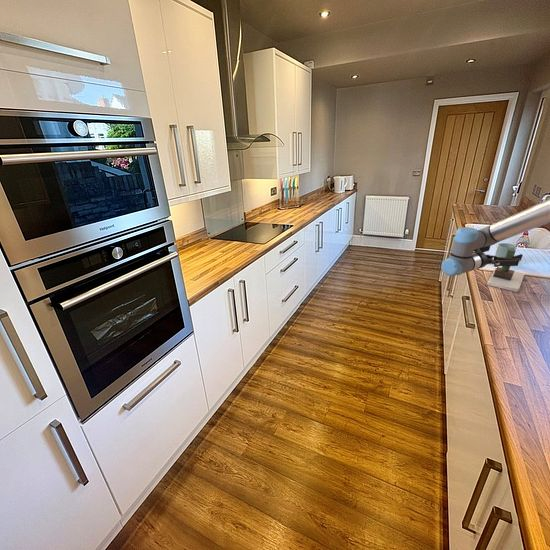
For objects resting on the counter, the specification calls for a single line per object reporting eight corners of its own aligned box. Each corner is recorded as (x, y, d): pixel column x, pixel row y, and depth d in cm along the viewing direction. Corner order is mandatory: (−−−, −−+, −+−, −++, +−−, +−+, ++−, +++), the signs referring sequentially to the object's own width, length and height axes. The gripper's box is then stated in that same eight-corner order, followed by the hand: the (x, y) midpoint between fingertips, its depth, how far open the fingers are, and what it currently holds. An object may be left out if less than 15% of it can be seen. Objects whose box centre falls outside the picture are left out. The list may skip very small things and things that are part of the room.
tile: (523, 275, 145) (524, 273, 144) (517, 292, 131) (519, 289, 130) (494, 269, 152) (495, 267, 152) (486, 284, 138) (487, 281, 137)
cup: (512, 266, 156) (518, 248, 151) (495, 264, 158) (500, 247, 154) (507, 260, 162) (513, 243, 158) (491, 259, 165) (496, 242, 160)
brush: (512, 277, 141) (522, 250, 135) (510, 280, 138) (520, 253, 132) (495, 273, 145) (503, 247, 139) (492, 276, 142) (501, 249, 136)
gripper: (445, 259, 136) (475, 251, 144) (501, 280, 115) (532, 269, 123) (448, 244, 133) (479, 237, 140) (507, 263, 112) (539, 253, 120)
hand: (504, 252), depth 132 cm, fingers open, 13 cm apart
